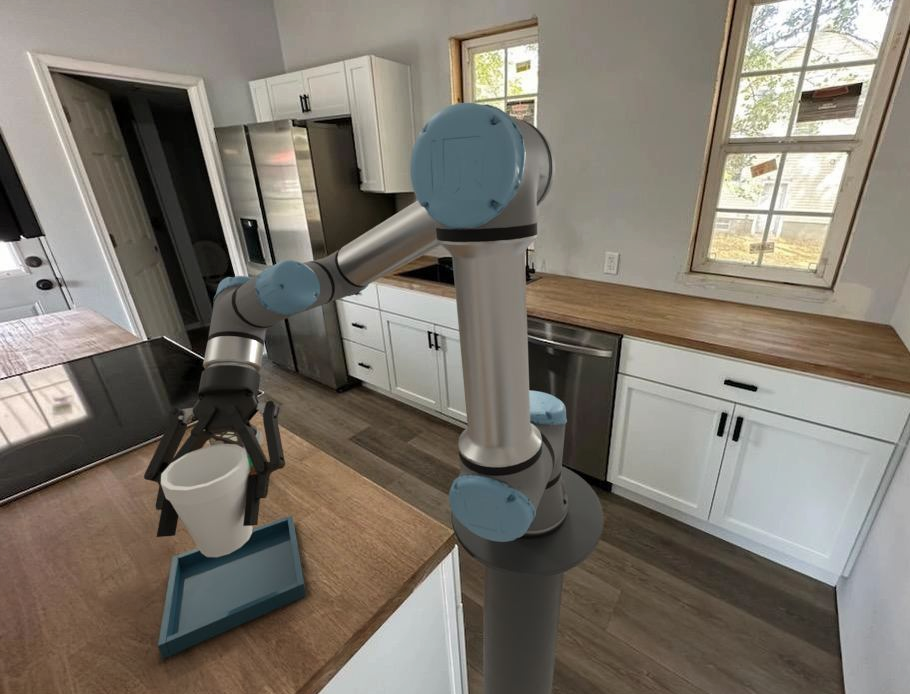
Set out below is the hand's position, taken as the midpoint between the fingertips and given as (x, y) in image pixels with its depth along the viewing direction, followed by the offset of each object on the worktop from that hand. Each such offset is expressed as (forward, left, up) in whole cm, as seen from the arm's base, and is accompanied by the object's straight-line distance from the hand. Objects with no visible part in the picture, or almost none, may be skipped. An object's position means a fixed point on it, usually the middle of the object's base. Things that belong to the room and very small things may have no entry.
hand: (209, 530), depth 55 cm
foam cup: (-1, -3, -5) cm, 6 cm away
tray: (-1, -3, -13) cm, 14 cm away
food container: (-3, -31, -14) cm, 34 cm away
